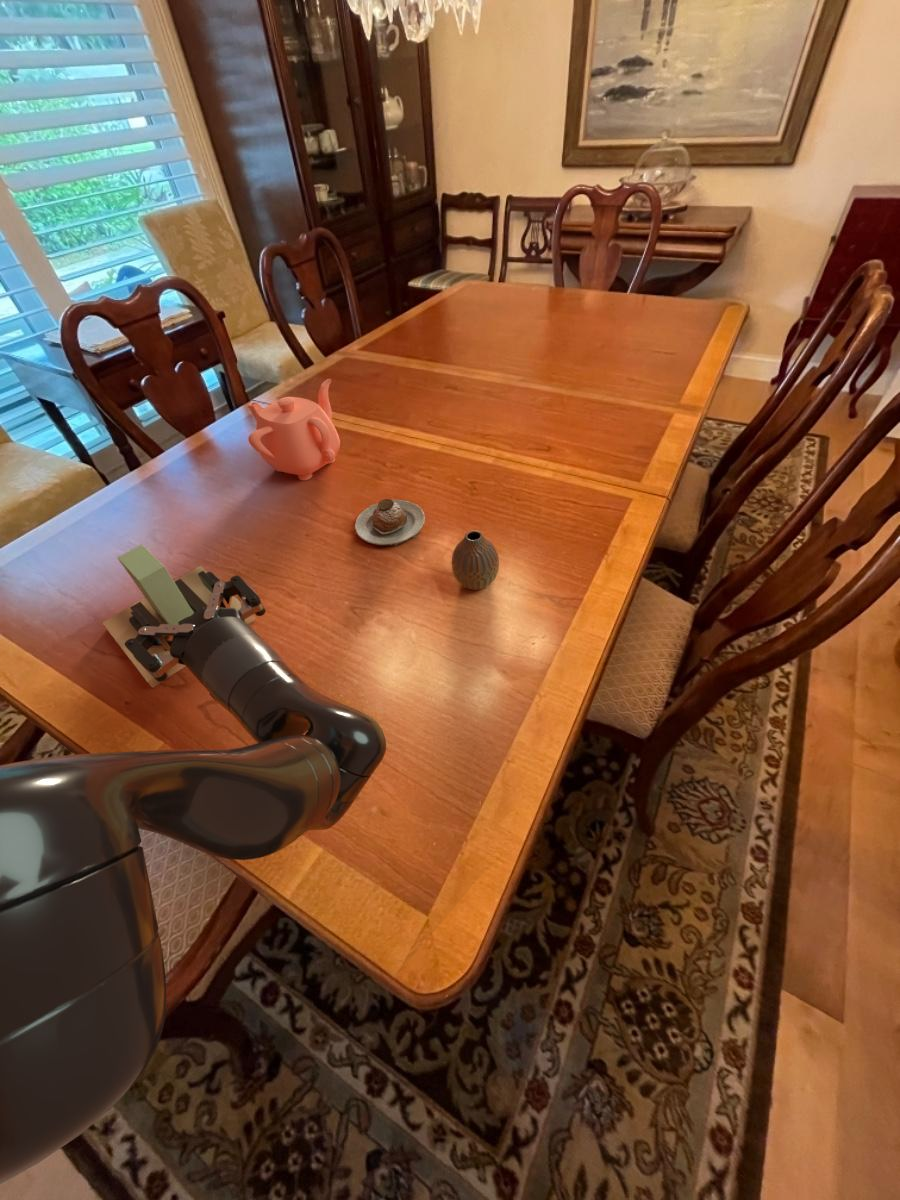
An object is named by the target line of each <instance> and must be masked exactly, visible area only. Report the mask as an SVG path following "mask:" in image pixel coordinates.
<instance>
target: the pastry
mask: <svg viewBox="0 0 900 1200" xmlns="http://www.w3.org/2000/svg"><path fill="white" fill-rule="evenodd" d="M425 521H426V515H425V513H424V510H423V509H422V507H420V506H419V504H417V503H414V502H411V501H408V500H404V499H390V498H384V499H381V500H380V501H378V502H377V503H375V504H372V505H369V506H368V507H367V508H366V509H364V510H363V511H361V512H360V513H359V515H358V516H357V517H356V519H355V524H354V530H355V532H356V534H357V536H358V537H359V538H360V539H361V540H362V541H364V542H367V543H369V544H373V545H376V546H380V547H387V546H389V547H397V546H399V545H401V544H403V543H404V542H407V541H408V540H411V539H414V537H416V536H418V535H419V532H420V531H421V530H422V528H423V527H424V525H425Z"/></svg>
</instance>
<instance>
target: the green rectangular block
mask: <svg viewBox="0 0 900 1200" xmlns="http://www.w3.org/2000/svg"><path fill="white" fill-rule="evenodd" d="M117 560H118V561H119V562H120V564H121V566H122V567H123V568H124V570H125V571H126V573H128V575H129V577H130V578H131V579H132V581H133V582H134V584H135V585H136V587H137V588H138V589H139V591H140V592H141V593H142V595H143V596H144V598H146V599H147V600H148V602H149V603H150V605H151V606H152V608H153V609H154V610H155V612H156V613H157V614H158V615H159V616H160V618H161V619H162V620H163V621H164V622H165V623H166V624H173V625H178V622H179V621H181V620H183V619H184V618H187V617H189V616H191V615H192V614H194V613H193V611H192V609H191V608H190V606H189V605H188V603H187V601H186V600H185V598H184V597H183V595H182V594H181V592H180V590H179V589H178V587H177V586H176V584H175V582H174V581H175V580H174V579H173V578H172V576H171V575H170V573H169V571H168V570H167V568H166V566H165V565H164V564H162V563H161V562H160V560H159V559H158V558H157V557H156V556H155V555H154V554H153V553H152V552H151V551H150V550H149V549H148V548H147V547H146V546H145V545H144V544H139V545H138V546H136V547H134V548H132V549H130V550H129V551H126V552H125V553H122V554H121V555H118V556H117Z"/></svg>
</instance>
